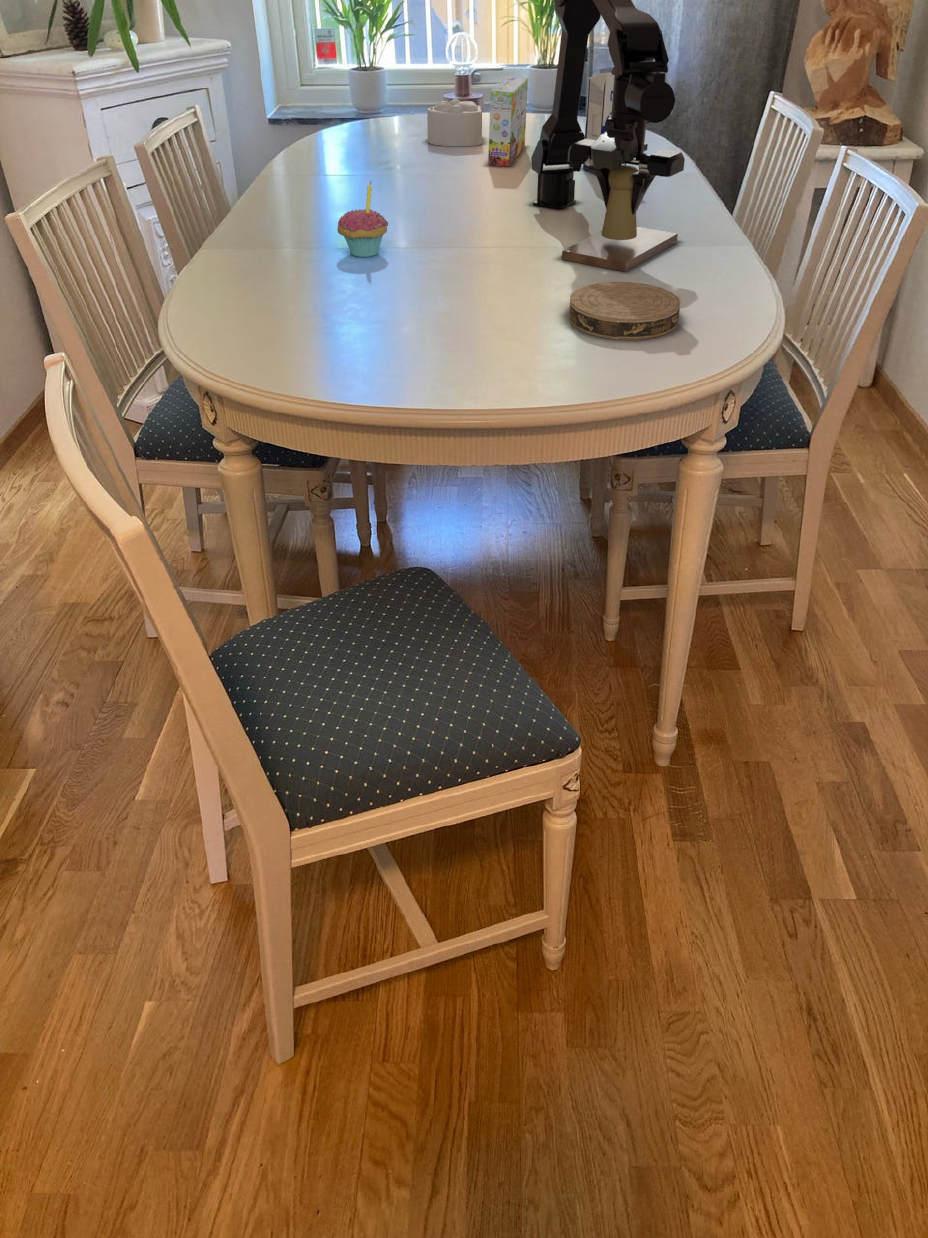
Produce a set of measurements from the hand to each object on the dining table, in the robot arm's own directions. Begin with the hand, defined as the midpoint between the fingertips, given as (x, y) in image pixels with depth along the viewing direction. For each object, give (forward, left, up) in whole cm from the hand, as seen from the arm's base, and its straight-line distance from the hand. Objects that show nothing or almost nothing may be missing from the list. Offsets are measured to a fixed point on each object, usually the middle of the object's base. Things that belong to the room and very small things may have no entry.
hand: (620, 211), depth 175 cm
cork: (0, 0, -4) cm, 4 cm away
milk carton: (-30, +51, -7) cm, 59 cm away
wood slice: (+16, -29, -7) cm, 34 cm away
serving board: (0, +1, -7) cm, 7 cm away
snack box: (-55, +51, -7) cm, 75 cm away
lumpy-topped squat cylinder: (-74, +57, -7) cm, 94 cm away
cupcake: (-36, -25, -7) cm, 44 cm away
